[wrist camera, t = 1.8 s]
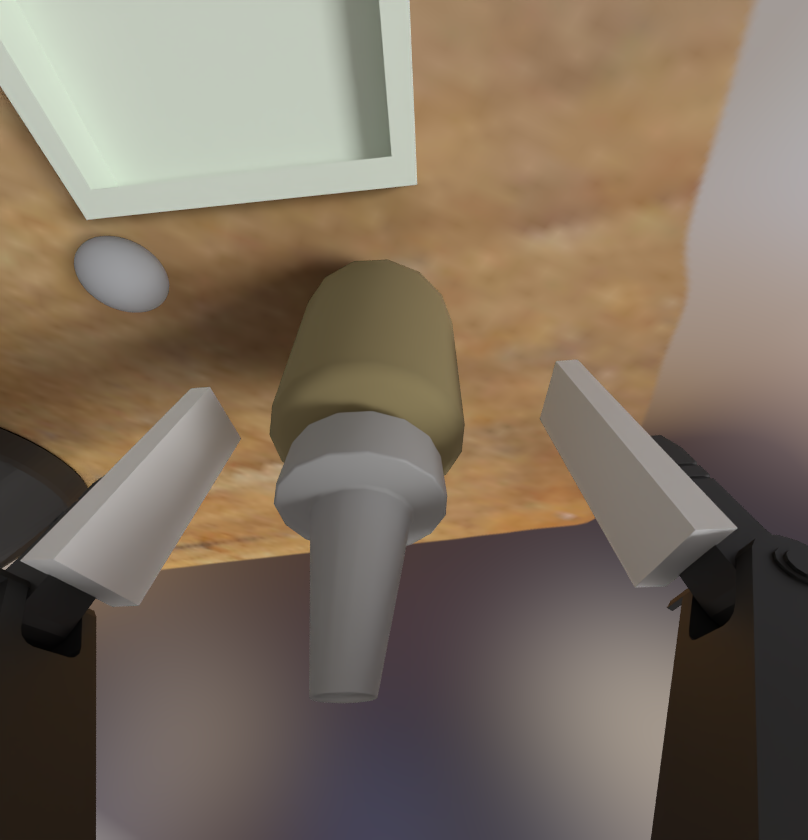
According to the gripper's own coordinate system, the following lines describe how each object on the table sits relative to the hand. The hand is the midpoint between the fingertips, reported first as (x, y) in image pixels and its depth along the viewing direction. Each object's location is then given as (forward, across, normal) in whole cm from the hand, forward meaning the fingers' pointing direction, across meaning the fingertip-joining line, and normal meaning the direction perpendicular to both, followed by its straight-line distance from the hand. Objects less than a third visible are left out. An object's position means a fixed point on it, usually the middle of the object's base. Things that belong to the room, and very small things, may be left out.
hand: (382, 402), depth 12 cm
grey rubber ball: (+9, -14, +4) cm, 17 cm away
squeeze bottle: (+10, -1, 0) cm, 10 cm away
